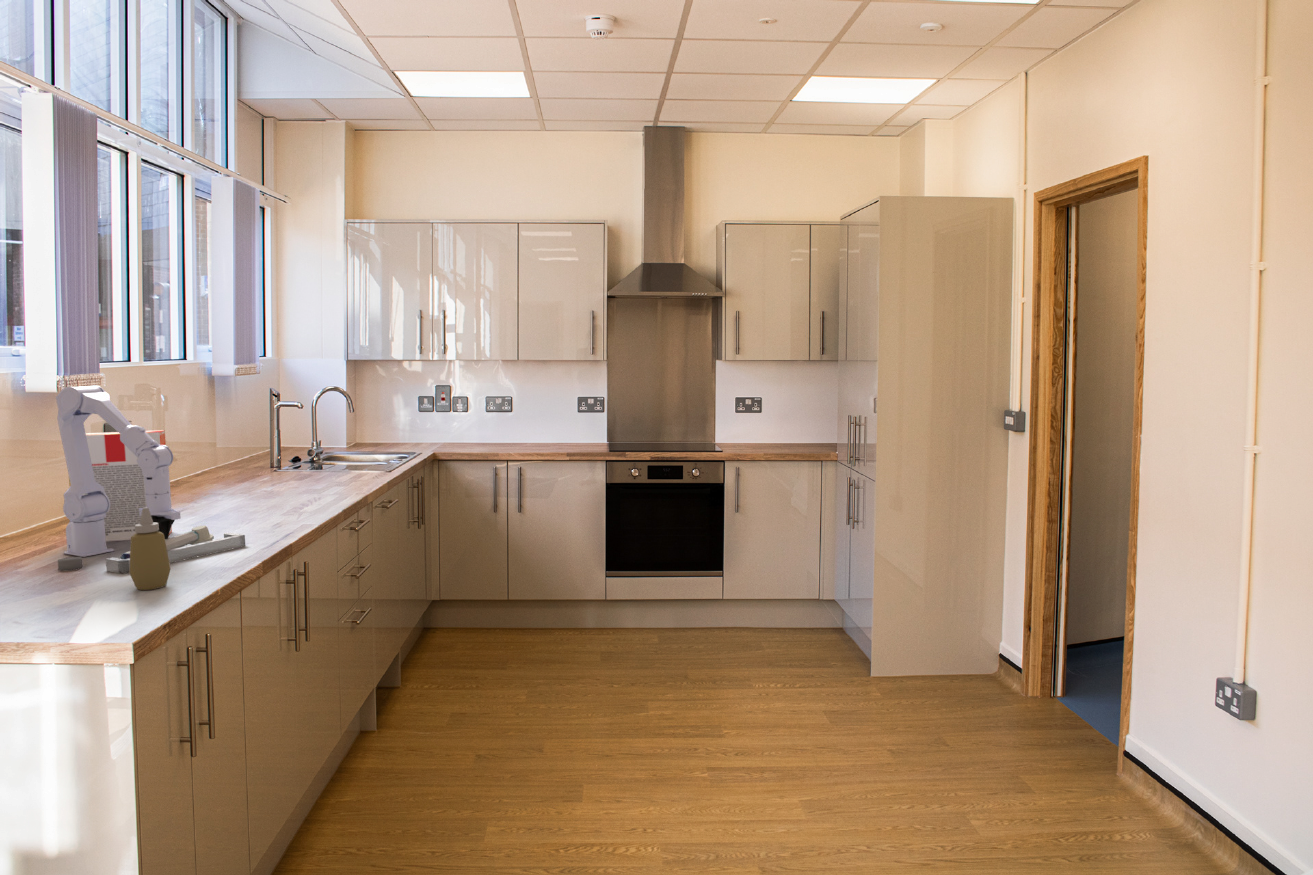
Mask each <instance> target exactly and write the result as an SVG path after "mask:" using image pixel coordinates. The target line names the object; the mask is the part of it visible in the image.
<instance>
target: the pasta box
mask: <svg viewBox="0 0 1313 875" xmlns="http://www.w3.org/2000/svg"><path fill="white" fill-rule="evenodd" d="M165 431H166V430H165V429H160V430H159V429H158V430H156V429H155V430H146V431H145V432H146V433H147V434H148V435H149V436H150V437H151V438H152V439H153V440H154V441H156V442H158V443H159V444H160V445H165V446H167V444H166V442H167V441H166V432H165ZM85 433H86V438H87V443H88V448H89V453H90V458H91V463H92V467H93V472H94V477H95V481H96V482H97V483H99V484H100V485H101V486H103V487H104V491H105V493H106V495H107V496H108V498H109V500H110V509H109V511H108V512H107V513H106V517H104V523H105V536H106V542H116V541H129V540H130V541H131V537H132V536H133V535H134V534H137V533H136V532H135V525H136V524H140V520H141V516H139V509H140V508H146V496H145V483H144V476H143V475H142V470H141V468H140V467H139V465H138V463H137V459H138V457H137V456H136V455H134V454H133V453H132V452H131V451H130V450H129V449H128V448H127V447H126V446H125V445H124V444H123V443H122V442H121V441H120V433H119V432H118V431H111V432H110V431H109V432H88V433H87V432H85ZM68 483H69V484H68V485H69V487H70V486H71V483H70V478H69V477H68ZM83 495H88V494H87V493H85V494H83ZM83 495H82V496H83ZM172 526H173V525H172ZM172 526H171V529H170V532H169V535H170V534H171V533H172V532H173V528H172Z"/></svg>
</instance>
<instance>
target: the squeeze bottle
mask: <svg viewBox="0 0 1313 875" xmlns="http://www.w3.org/2000/svg"><path fill="white" fill-rule="evenodd" d="M158 530H159V524H158V523H156V522H153V520H152V517H151V514H150V511H149V508H142V514H141V520H140V524H136V525H135V532H136V533H137V534H134V535H133V536H132V537H131V540H130V547H129V548H130V549H129V551H130V572H129V576H130V578H131V580H132V581H133V582H132V583H133V584H134V586H135V588H136V590H139V591H149V590H156V589H160V588H162V587H165V586H167V583H168V580H169V577H170V573H171V570H172V569H171V563H169V558H168V553H167V547H166V542H165V537H164V534H163V533H162V532H159V531H158Z"/></svg>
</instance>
